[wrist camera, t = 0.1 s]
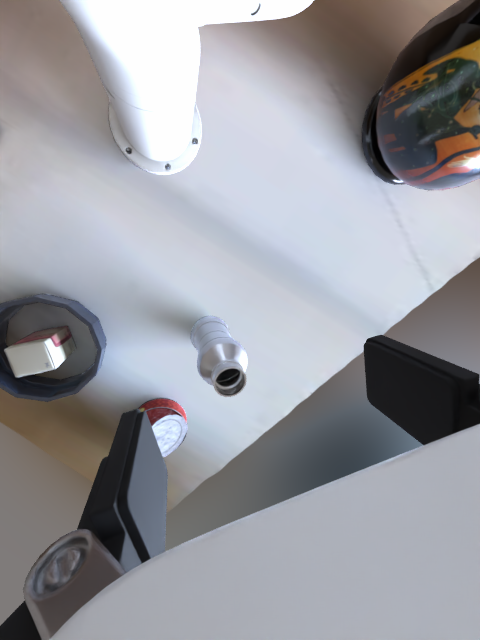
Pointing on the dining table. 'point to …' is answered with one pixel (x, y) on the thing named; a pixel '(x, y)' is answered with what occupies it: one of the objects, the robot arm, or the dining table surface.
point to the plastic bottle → (219, 356)
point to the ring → (42, 386)
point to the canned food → (166, 423)
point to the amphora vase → (430, 106)
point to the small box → (40, 351)
